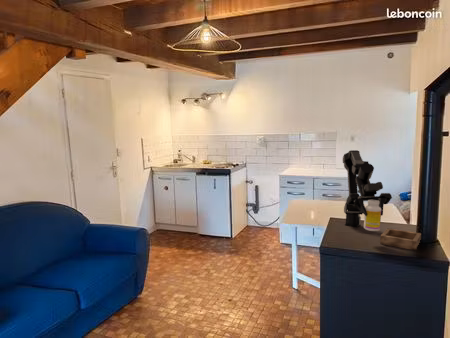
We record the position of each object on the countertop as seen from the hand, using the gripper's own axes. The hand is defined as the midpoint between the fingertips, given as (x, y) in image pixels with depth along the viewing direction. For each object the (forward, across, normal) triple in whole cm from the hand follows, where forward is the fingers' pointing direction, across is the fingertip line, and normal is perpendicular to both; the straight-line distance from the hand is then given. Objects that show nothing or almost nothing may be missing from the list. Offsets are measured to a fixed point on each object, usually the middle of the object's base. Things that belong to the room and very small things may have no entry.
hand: (374, 215), depth 153 cm
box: (+8, +13, +10) cm, 19 cm away
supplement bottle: (+4, 0, +6) cm, 7 cm away
